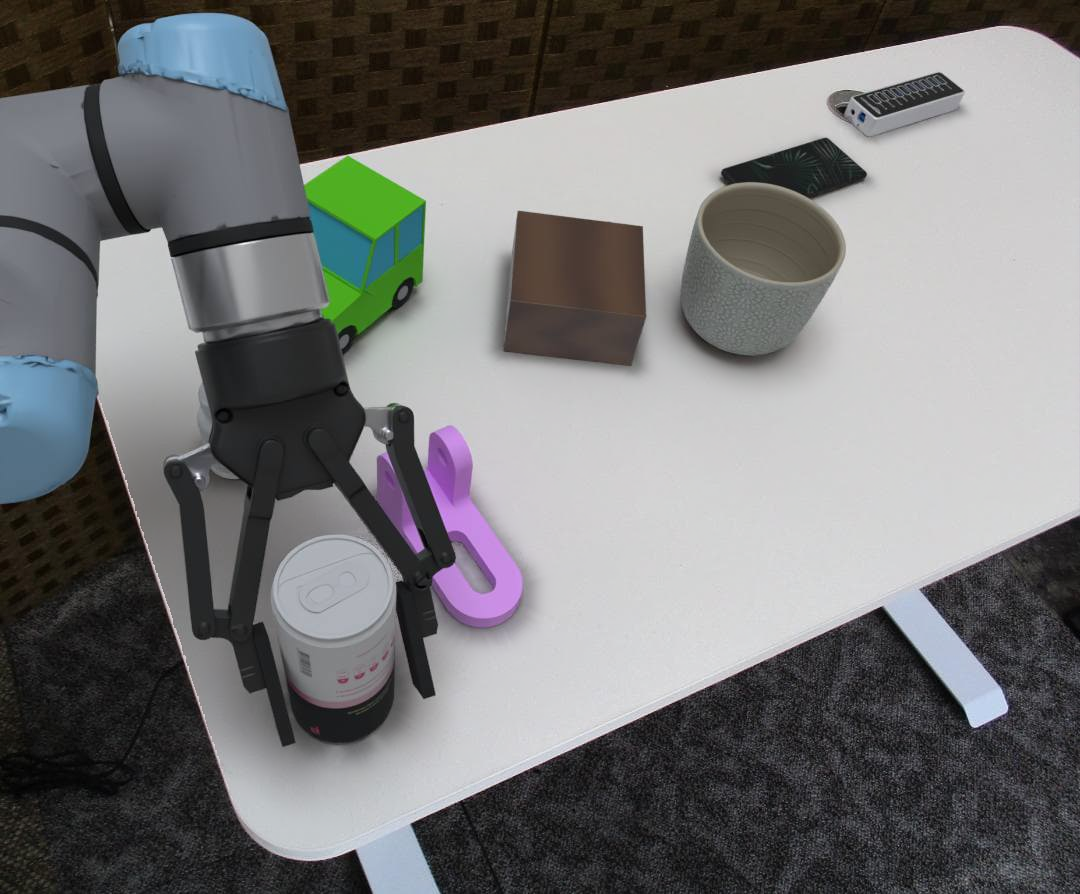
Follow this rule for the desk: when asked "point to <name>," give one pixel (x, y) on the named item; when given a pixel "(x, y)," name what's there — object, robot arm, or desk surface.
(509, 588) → the bracket
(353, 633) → the beverage can
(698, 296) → the planter
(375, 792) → the desk surface
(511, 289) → the riser
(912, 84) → the multiport hub
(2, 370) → the robot arm
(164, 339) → the desk surface
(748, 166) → the smartphone
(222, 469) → the pill bottle
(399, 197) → the toy car
